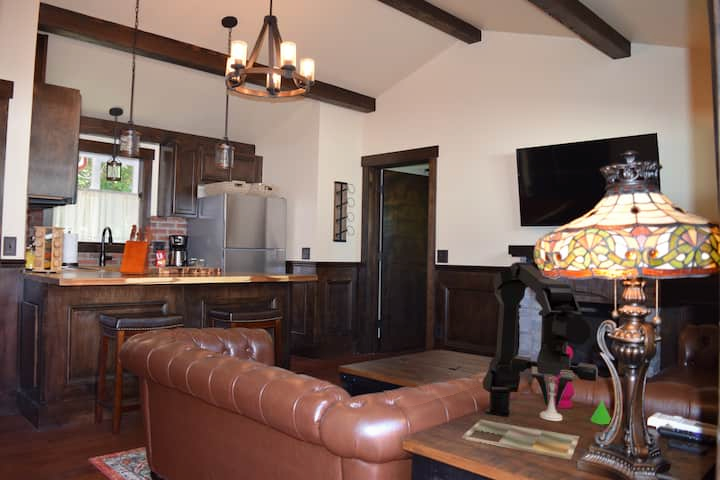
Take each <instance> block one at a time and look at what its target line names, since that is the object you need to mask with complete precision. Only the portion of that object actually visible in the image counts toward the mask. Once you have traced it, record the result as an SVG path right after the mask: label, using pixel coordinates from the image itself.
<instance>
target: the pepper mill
mask: <svg viewBox="0 0 720 480" xmlns="http://www.w3.org/2000/svg"><path fill="white" fill-rule="evenodd" d="M567 354H570V358H571V359H572V358H573V357H574V356H573V355H574V352H573V349H572V347H570V346H569V345H567ZM560 376H561V374H560V375H559V376H554V377H557V379H554V381H555V382H556V383H557V387H556V389H555V392H556V393H557V389H558V380H559V377H560ZM548 390H549V391H550V388H549V387H548ZM556 396H557V395H554V398H555V408H558V409H572V407H573V400H571V399H572V398H573V397H574V396H575V388H574V385H573V382H568V383H567V385H566V387H565V389H564V392H563V394H562V397H561V399H560V402H559V405H558V407H557V406H556Z"/></svg>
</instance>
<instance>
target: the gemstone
mask: <svg viewBox="0 0 720 480" xmlns="http://www.w3.org/2000/svg"><path fill="white" fill-rule="evenodd" d="M610 420H612V418H611V416H610V413H609V412H608V410H607V408H606V405H605V404H604V401H603V400H601V401H600V402H599V405H598V406H597V408H596V410H595V411H594V412H593V414H592V416H591V418H590V421H591V422H592V423H595V424H598V425H604V424H609V422H610Z"/></svg>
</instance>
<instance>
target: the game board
mask: <svg viewBox="0 0 720 480" xmlns="http://www.w3.org/2000/svg"><path fill="white" fill-rule="evenodd" d="M476 431H478V432H481V431H483V432H482V433H487V432H489V433H488V434H492V433H494V434H493V435H498V434H499V435H498V436H502V437H501V438H500V439H499V441H498V442H497V441H492V440H488V439H481V438H477V437H471V435H473V433H474V432H476ZM579 439H580V436H579V435H573V434H568V433H567V434H566V433H560V432H554V431H548V430H543V429H538V428H531V427H526V426H520V425H515V424H508V423H502V422H497V421H492V420H491V421H490V420H485V419H480V420H479V421H478V422H476V423H475V424H474V425H473V426H471V427H470V429H468V430H467V431H466V432H465V433H464V434H463V435H462V436H461V440H464V441H470V442H474V443H475V442H476V443H480V442H481V444H485V443H486V445H490V444H491V445H490V446H497V447H502V448H507V449H512V450H517V451H521V452H522V451H524V452H527V453H533V454H538V455H542V456H548V457H552V458H553V457H554V458H559V459H563V460H564V459H565V460H571V459H572V458H573V455H574V452H575V450H576V448H577V444H578V443H579Z"/></svg>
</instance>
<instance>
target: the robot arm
mask: <svg viewBox="0 0 720 480" xmlns="http://www.w3.org/2000/svg"><path fill="white" fill-rule="evenodd" d="M542 273H543V272H542V271H541V270H539V269H537V268H536V267H535V266H534V264H533V263H530V262H526V261H525V262H521V261H516V262H513V263H511V265H509V266H508V267H506V268H504V269H502V270H500V271H498V273H497V274H496V275H495V277H494V279H493V288H494V295H495V297H496V299H497V301H498V303H499V308H498V309H499V310H498V321H497V323H498V324H497V325H498V326H497V335H496V336H497V339H496V341H497V342H496V350H495V353H496V354H494V356H493V358H492V359H491V361H490V362H489V366H488V371H487V372H486V374H485V375H484V378H483V379H482V388H483V390H484V391H486V392H488V393H489V403H488V404H489V405H488V406H489V407H488V408H487V409H486V410H485V414H491V415H496V416H497V415H498V416H504V417H510V416H511V415H512V414H513V412H514V409H511V393H518V391H519V387H520V382H521V374H520V372H521V373H523V372H525V371H526V370H527V369H528V370H529V369H530V370H531V373H530V376H531V377H532V378H535V379H536V381H537V383H538V385H539V388H540V390H541V393H542V396H543V400H544V403H545V405H546V406H548V405H549V399H550V394H548V391H549V384H548V382H549V375H551V376H552V375H553V376H559V375H560V374H561V376H560V377H559V380H558V389H557V396H556V406H557V407H558V405H559V402H560V399H561V397H562V394H563V392H564V389H565V387H566V385H567V383H568V382H572V383H573V382H574V380H575V379H576V376H577V378H579V380H581V381H589V382H596V381H598V380H597V379H598V378H599V377H598V375H599V369H598V366H597V365H596V364H591V363H583V362H582V363H581V362H579V363H578V364H577V366H575V365H572V361H571V360H572V358H570V354H567V346H568V343H570V344H573V345H576V346H577V345H578V346H579V345H583V344H584V343H586V342H587V341H588V340H589V338H590V336H591V328H590V325H589V323H588V322H587V321H586V320H585V319H583V313H582V311H581V306H580V304H579V301H578V300H577V297H576V295H575V291H574V289H573V287H572V286H571V284H570V283H569V284H568V283H566V282H563V281H559V280H554V279H551V278H549V277H548V276H547V277H545V276H543V275H542ZM527 289H530V290H531V291H533V292H534V293H535V300H536V301H537V303H538V305H539V306H540V307H541V309H540V310H539V312H538V314H537V315H539V316H540V317H541V326H540V327H541V330H540V331H541V332H540V335H541V336H540V349H539V351H538V355H537V357H536V361H534V360H532V357H531V356H524V355H515V347H516V333H517V332H516V331H517V321H518V320H517V318H518V307H519V305H520V303H521V302H522V301H523V300H524V298H525V294H526V290H527ZM557 407H556V408H557Z"/></svg>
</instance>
